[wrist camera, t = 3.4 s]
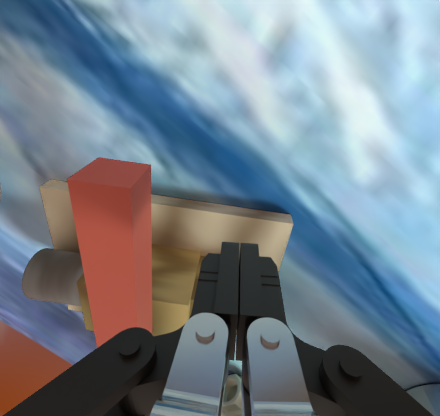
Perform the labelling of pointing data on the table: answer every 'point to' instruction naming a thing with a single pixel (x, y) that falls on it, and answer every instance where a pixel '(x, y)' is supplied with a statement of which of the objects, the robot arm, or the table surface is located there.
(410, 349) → the table surface
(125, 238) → the lever
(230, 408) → the ball valve
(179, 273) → the valve fixture
